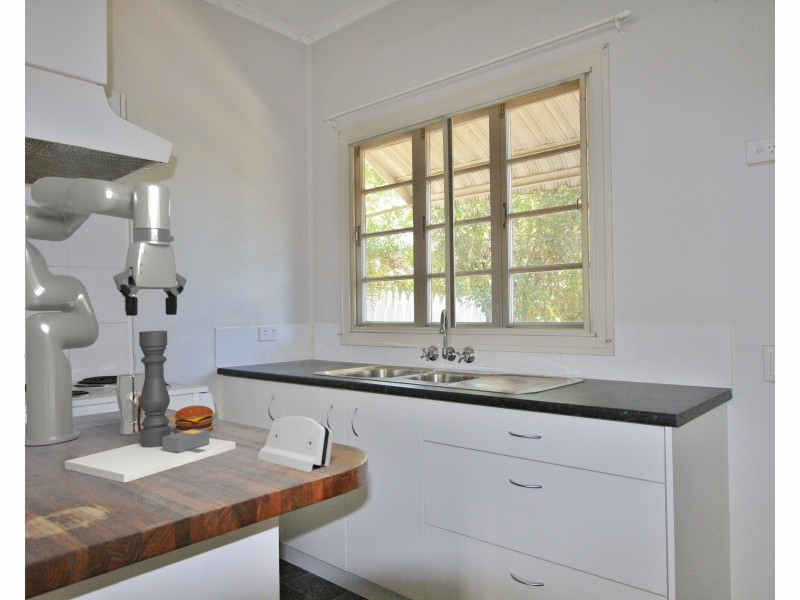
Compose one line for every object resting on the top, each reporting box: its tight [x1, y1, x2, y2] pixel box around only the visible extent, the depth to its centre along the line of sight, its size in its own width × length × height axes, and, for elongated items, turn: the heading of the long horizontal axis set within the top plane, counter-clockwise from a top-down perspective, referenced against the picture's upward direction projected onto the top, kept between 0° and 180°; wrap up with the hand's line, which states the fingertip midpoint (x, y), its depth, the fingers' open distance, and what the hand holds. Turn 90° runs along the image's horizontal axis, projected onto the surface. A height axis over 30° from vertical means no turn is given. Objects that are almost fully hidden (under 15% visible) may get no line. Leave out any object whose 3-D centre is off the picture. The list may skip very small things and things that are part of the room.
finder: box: [162, 429, 210, 453], centre depth 116 cm, size 5×8×3 cm, turn 149°
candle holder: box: [138, 330, 172, 447], centre depth 120 cm, size 6×6×25 cm
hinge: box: [257, 415, 334, 473], centre depth 109 cm, size 17×5×10 cm, turn 51°
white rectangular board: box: [64, 437, 236, 484], centre depth 114 cm, size 20×26×2 cm
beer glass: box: [116, 372, 145, 436], centre depth 139 cm, size 7×7×15 cm
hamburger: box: [168, 404, 220, 433], centre depth 139 cm, size 9×10×7 cm
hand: (152, 315), depth 121 cm, fingers open, 9 cm apart
